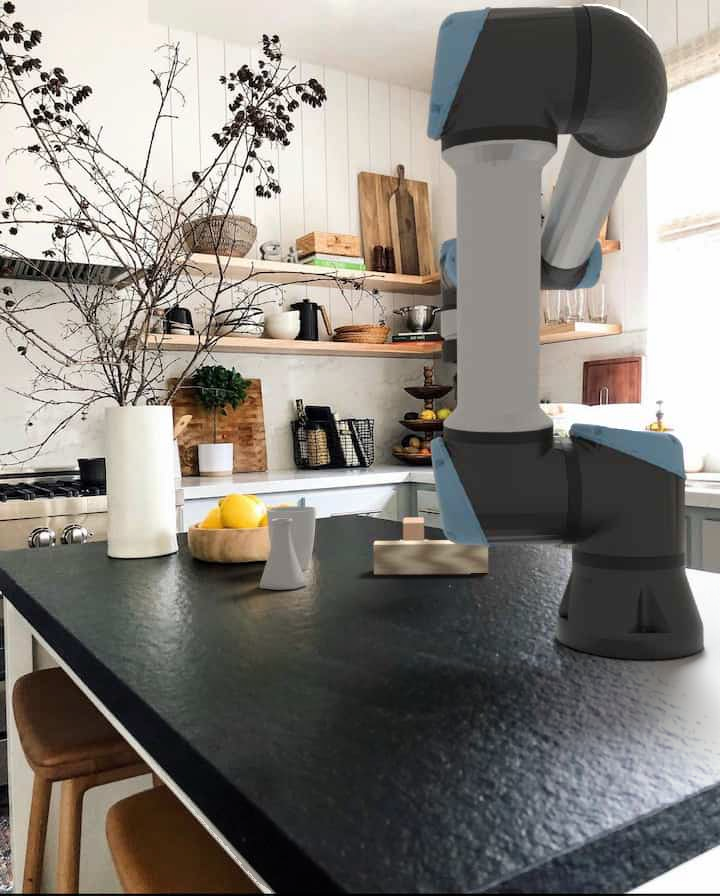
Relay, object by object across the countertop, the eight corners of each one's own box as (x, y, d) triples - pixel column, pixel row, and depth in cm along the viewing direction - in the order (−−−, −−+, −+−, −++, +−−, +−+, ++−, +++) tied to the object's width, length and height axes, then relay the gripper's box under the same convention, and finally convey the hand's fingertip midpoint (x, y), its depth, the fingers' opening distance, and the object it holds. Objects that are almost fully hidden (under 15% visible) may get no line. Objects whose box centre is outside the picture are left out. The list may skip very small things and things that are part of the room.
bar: (486, 570, 132) (485, 539, 132) (488, 575, 128) (487, 543, 128) (375, 571, 134) (374, 540, 134) (373, 576, 130) (373, 544, 130)
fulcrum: (429, 564, 138) (428, 522, 137) (399, 564, 138) (398, 523, 138) (428, 556, 146) (427, 517, 145) (400, 556, 146) (399, 517, 146)
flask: (299, 592, 117) (298, 522, 117) (251, 591, 119) (250, 522, 119) (312, 582, 124) (311, 516, 124) (267, 581, 126) (265, 516, 126)
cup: (320, 564, 139) (319, 506, 139) (312, 573, 131) (311, 511, 131) (273, 564, 140) (272, 506, 140) (263, 573, 132) (261, 511, 132)
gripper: (496, 330, 117) (498, 478, 118) (482, 345, 142) (484, 467, 143) (443, 331, 117) (446, 479, 118) (439, 346, 142) (441, 467, 143)
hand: (467, 472), depth 130 cm, fingers open, 13 cm apart
